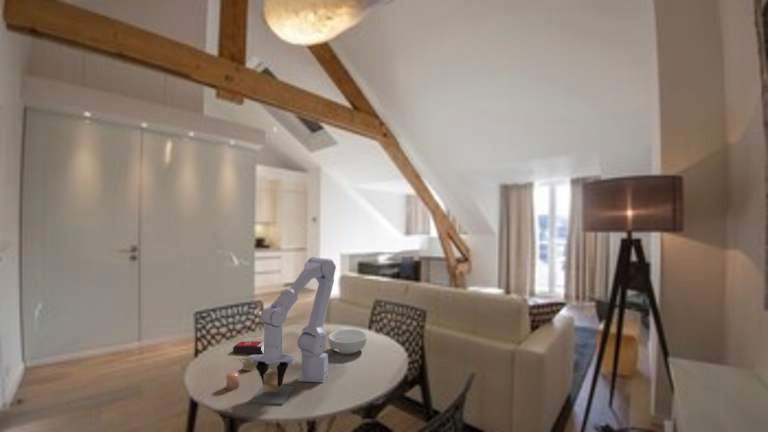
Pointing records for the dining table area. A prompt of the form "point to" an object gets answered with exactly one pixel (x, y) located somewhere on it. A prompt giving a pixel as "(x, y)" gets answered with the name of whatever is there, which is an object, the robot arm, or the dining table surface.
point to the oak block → (271, 381)
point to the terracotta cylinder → (232, 381)
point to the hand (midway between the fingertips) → (272, 384)
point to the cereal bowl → (348, 341)
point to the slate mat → (272, 396)
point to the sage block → (273, 366)
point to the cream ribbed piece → (248, 364)
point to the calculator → (249, 346)
